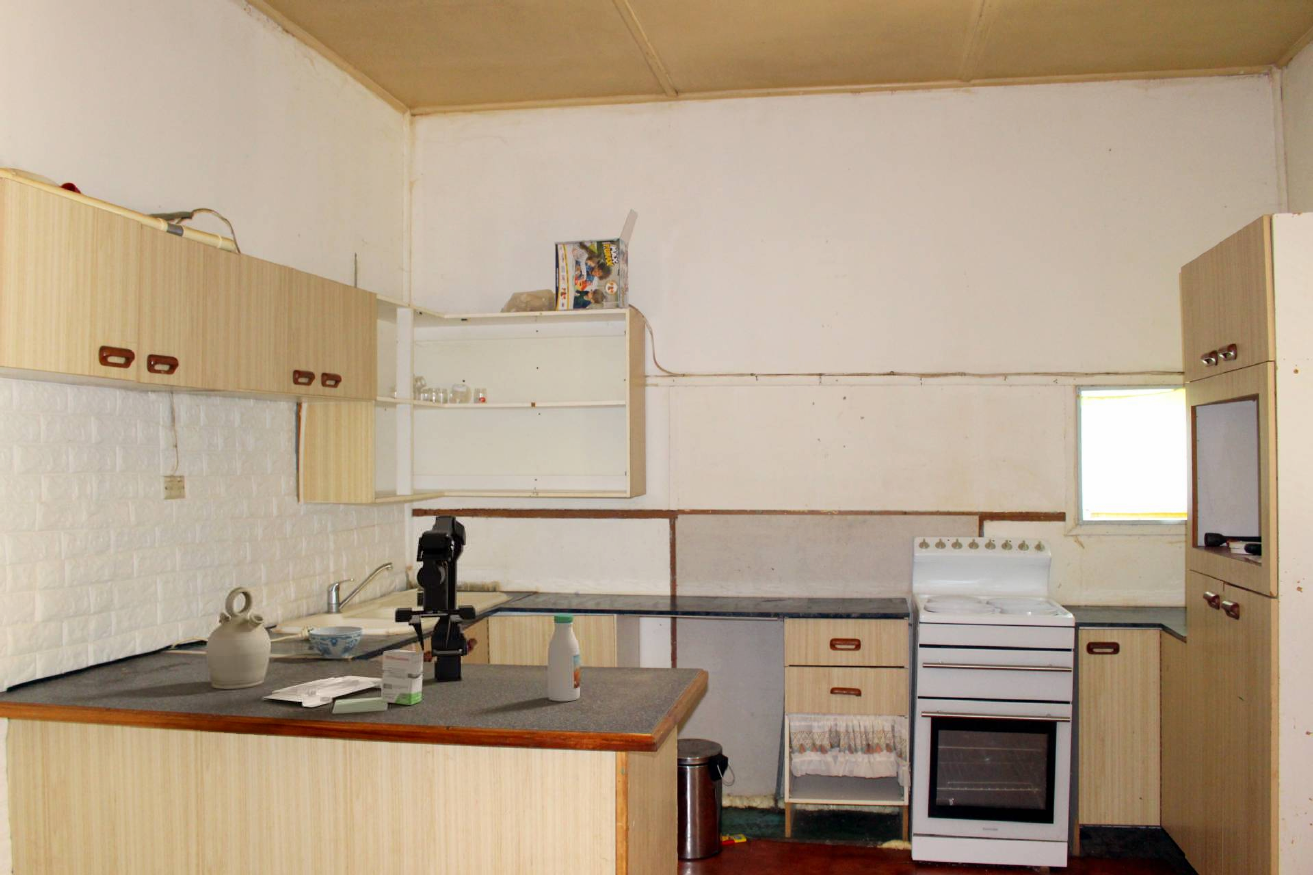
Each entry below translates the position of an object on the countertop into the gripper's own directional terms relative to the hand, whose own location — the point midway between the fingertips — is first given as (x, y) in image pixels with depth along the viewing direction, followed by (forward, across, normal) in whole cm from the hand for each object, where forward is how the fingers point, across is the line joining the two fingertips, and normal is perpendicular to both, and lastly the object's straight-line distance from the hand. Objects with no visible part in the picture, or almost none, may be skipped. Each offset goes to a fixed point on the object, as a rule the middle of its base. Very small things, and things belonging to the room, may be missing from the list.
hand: (435, 649), depth 236 cm
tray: (+12, +26, -16) cm, 33 cm away
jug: (+12, +49, -32) cm, 60 cm away
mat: (+12, +17, +1) cm, 21 cm away
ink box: (+12, +8, 0) cm, 14 cm away
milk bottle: (+12, -30, +6) cm, 33 cm away
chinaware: (+12, +27, -65) cm, 72 cm away
